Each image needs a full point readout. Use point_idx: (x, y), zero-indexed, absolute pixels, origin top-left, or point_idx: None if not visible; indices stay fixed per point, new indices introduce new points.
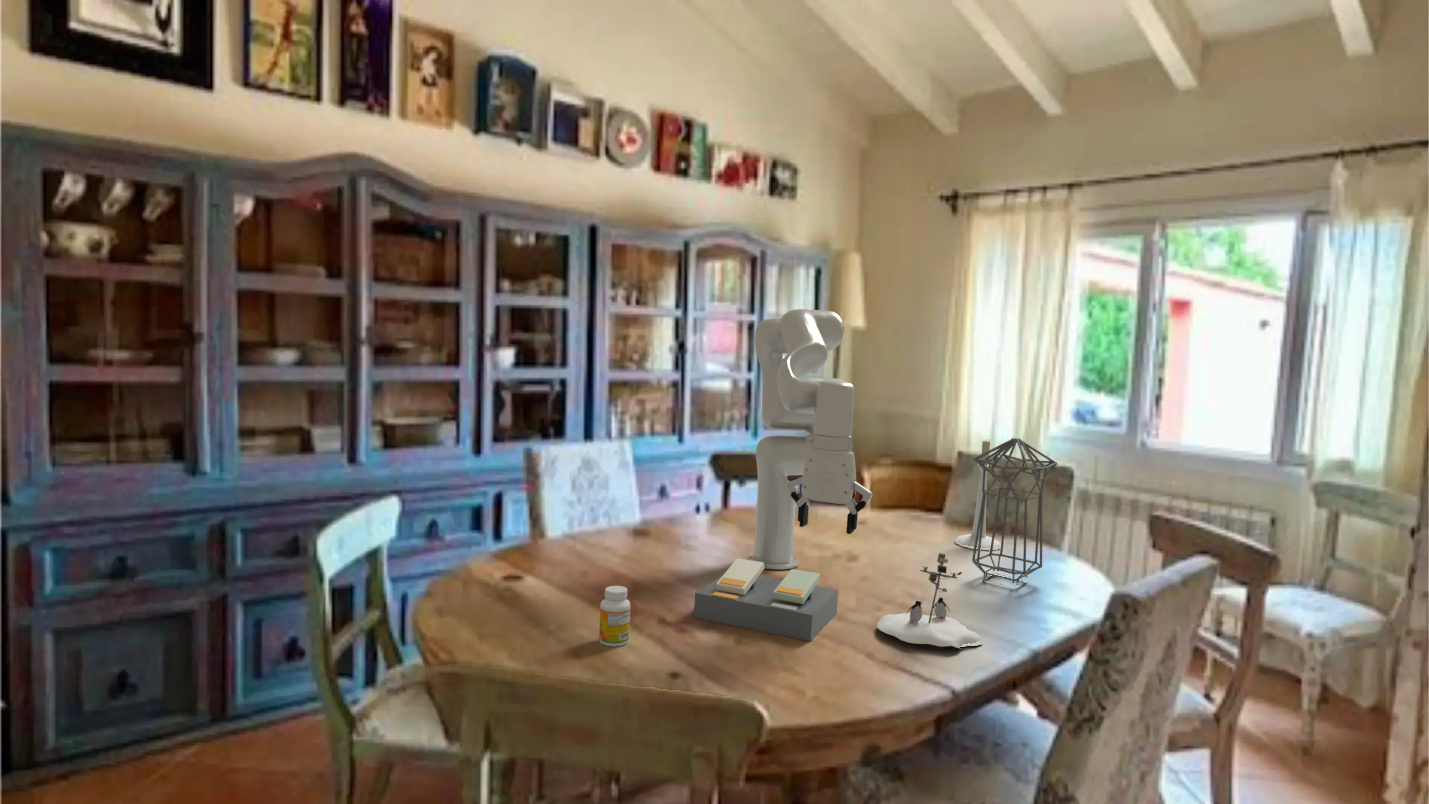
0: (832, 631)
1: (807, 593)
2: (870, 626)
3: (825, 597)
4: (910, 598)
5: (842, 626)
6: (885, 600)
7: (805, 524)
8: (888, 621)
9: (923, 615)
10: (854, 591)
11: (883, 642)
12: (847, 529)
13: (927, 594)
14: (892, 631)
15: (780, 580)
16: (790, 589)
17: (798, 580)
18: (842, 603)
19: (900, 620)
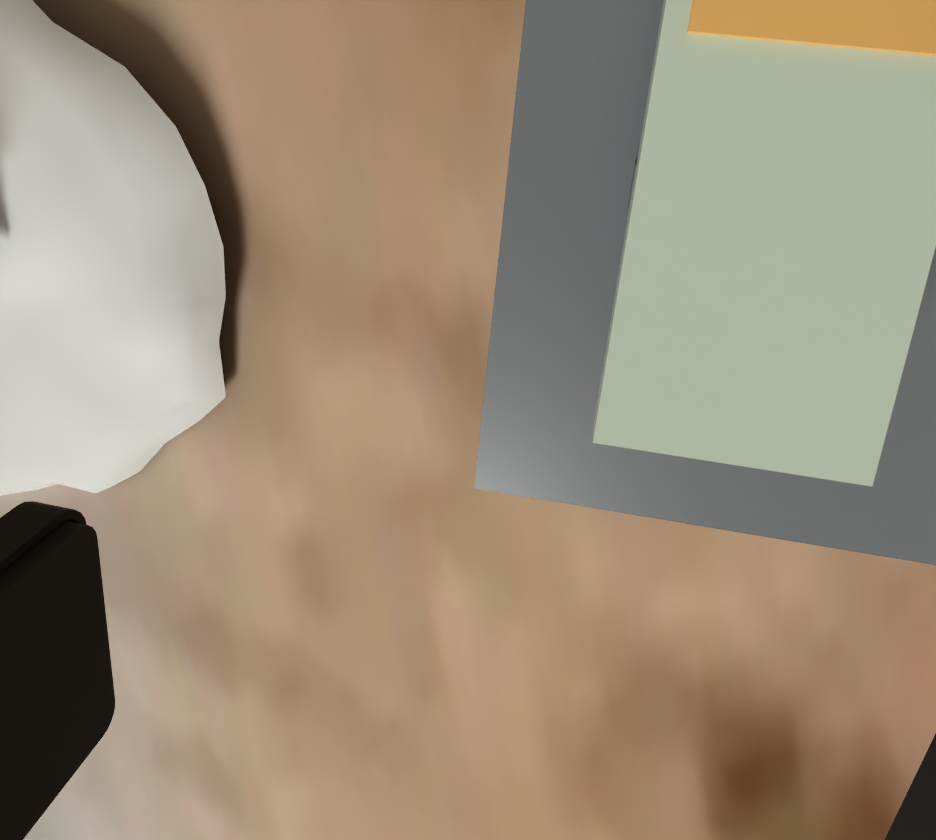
0: (466, 86)
1: (657, 47)
2: (282, 284)
3: (529, 274)
4: (213, 748)
5: (426, 212)
6: (306, 693)
7: (908, 814)
8: (141, 238)
9: (48, 469)
10: (471, 770)
11: (151, 35)
12: (22, 540)
13: (164, 811)
14: (70, 58)
15: (924, 543)
16: (838, 4)
17: (777, 253)
18: (497, 589)
19: (49, 207)
